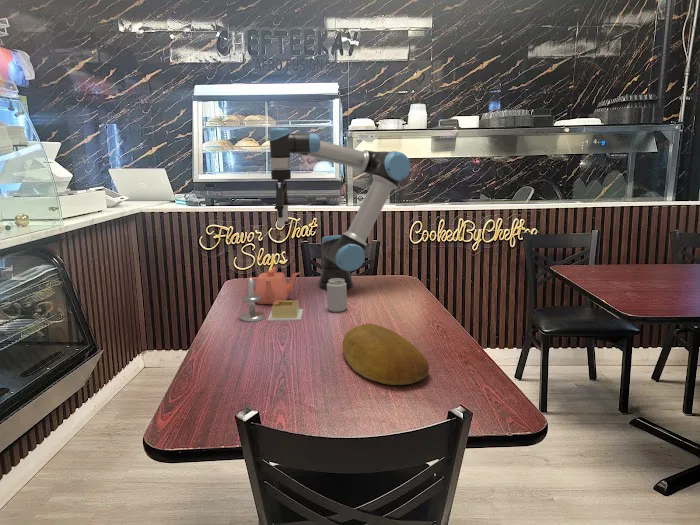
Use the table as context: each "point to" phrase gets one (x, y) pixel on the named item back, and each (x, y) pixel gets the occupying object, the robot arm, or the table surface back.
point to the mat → (286, 318)
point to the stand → (251, 305)
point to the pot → (272, 286)
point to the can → (336, 295)
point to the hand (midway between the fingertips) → (283, 223)
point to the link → (285, 309)
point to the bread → (383, 355)
